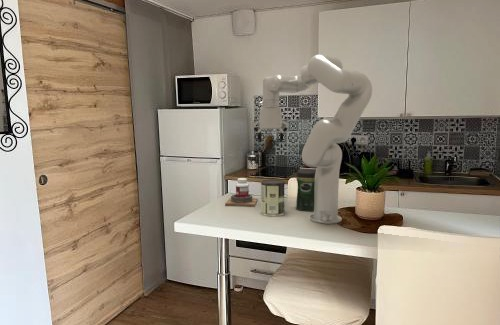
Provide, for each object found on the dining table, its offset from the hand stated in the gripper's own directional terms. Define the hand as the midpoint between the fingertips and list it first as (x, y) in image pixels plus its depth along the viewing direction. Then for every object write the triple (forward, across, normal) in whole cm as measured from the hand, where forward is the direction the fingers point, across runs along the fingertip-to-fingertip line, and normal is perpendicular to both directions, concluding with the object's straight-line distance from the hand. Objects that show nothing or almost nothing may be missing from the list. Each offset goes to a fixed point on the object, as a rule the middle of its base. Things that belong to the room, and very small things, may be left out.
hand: (270, 141), depth 170 cm
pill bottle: (+30, -14, +4) cm, 33 cm away
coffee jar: (+31, +17, -5) cm, 35 cm away
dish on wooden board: (+30, -14, +4) cm, 34 cm away
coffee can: (+31, +2, -14) cm, 34 cm away
